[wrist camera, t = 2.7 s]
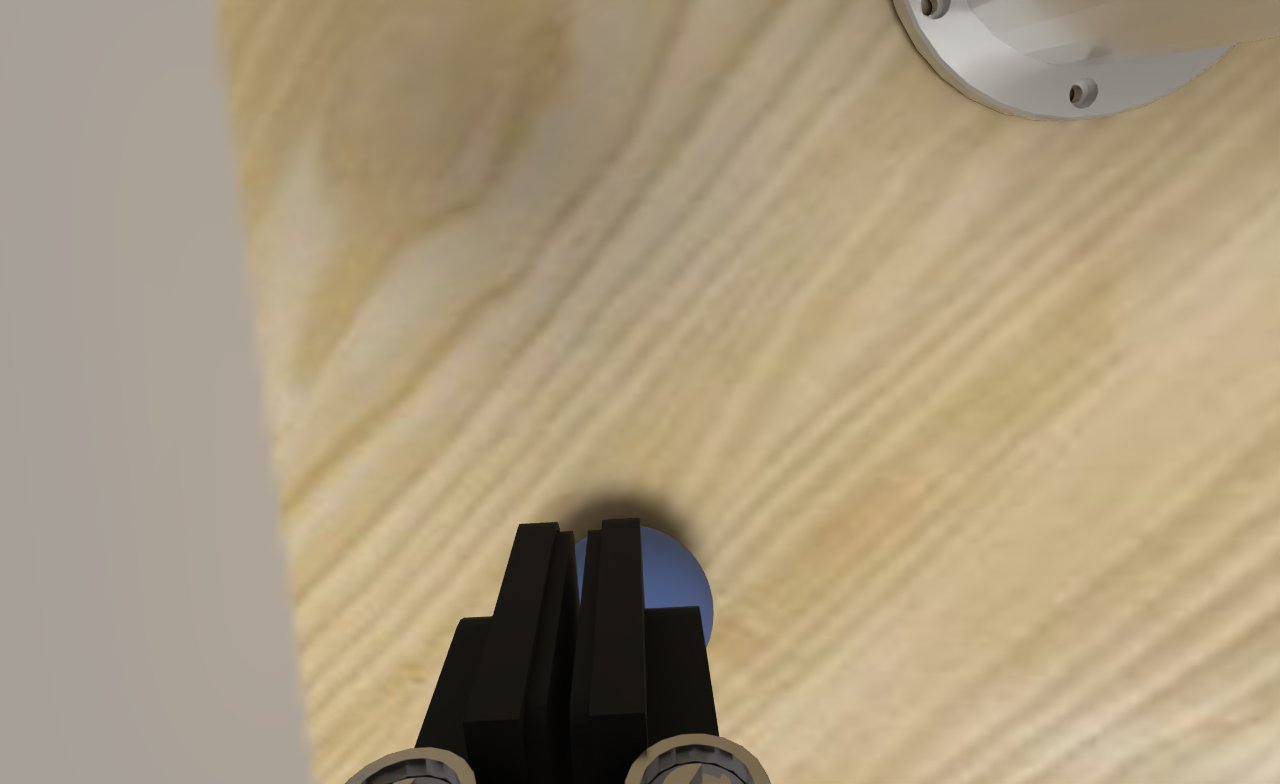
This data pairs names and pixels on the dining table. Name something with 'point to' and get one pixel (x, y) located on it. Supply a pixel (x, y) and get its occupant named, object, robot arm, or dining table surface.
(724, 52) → the dining table surface
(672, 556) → the ball
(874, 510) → the dining table surface
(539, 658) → the robot arm
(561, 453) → the dining table surface
